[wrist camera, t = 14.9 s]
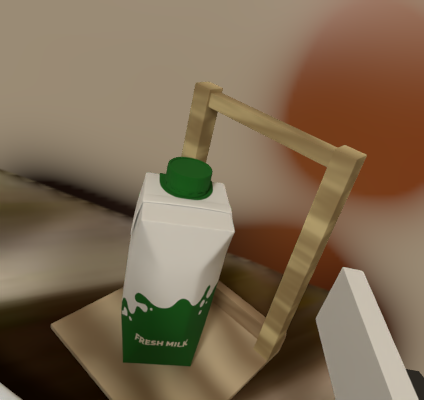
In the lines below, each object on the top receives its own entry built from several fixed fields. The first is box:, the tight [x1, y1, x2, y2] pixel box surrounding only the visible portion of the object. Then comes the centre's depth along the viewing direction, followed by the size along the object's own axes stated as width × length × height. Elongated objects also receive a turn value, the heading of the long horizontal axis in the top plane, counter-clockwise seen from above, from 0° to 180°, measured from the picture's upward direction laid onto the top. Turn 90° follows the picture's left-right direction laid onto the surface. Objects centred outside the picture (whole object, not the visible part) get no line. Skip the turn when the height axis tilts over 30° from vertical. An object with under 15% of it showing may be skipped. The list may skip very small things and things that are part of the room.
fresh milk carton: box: [121, 157, 235, 366], centre depth 38 cm, size 9×9×20 cm
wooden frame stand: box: [51, 82, 367, 400], centre depth 38 cm, size 18×18×26 cm
